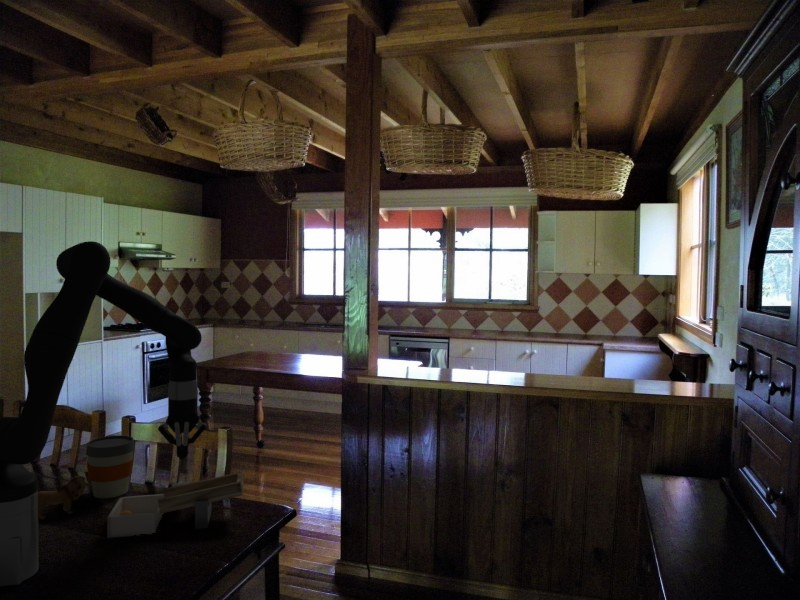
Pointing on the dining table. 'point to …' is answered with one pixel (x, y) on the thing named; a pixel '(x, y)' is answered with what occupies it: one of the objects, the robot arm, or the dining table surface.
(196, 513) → the fulcrum
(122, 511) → the ball
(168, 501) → the lever
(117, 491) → the reusable coffee cup
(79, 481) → the lion figurine
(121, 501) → the tray
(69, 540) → the dining table surface
